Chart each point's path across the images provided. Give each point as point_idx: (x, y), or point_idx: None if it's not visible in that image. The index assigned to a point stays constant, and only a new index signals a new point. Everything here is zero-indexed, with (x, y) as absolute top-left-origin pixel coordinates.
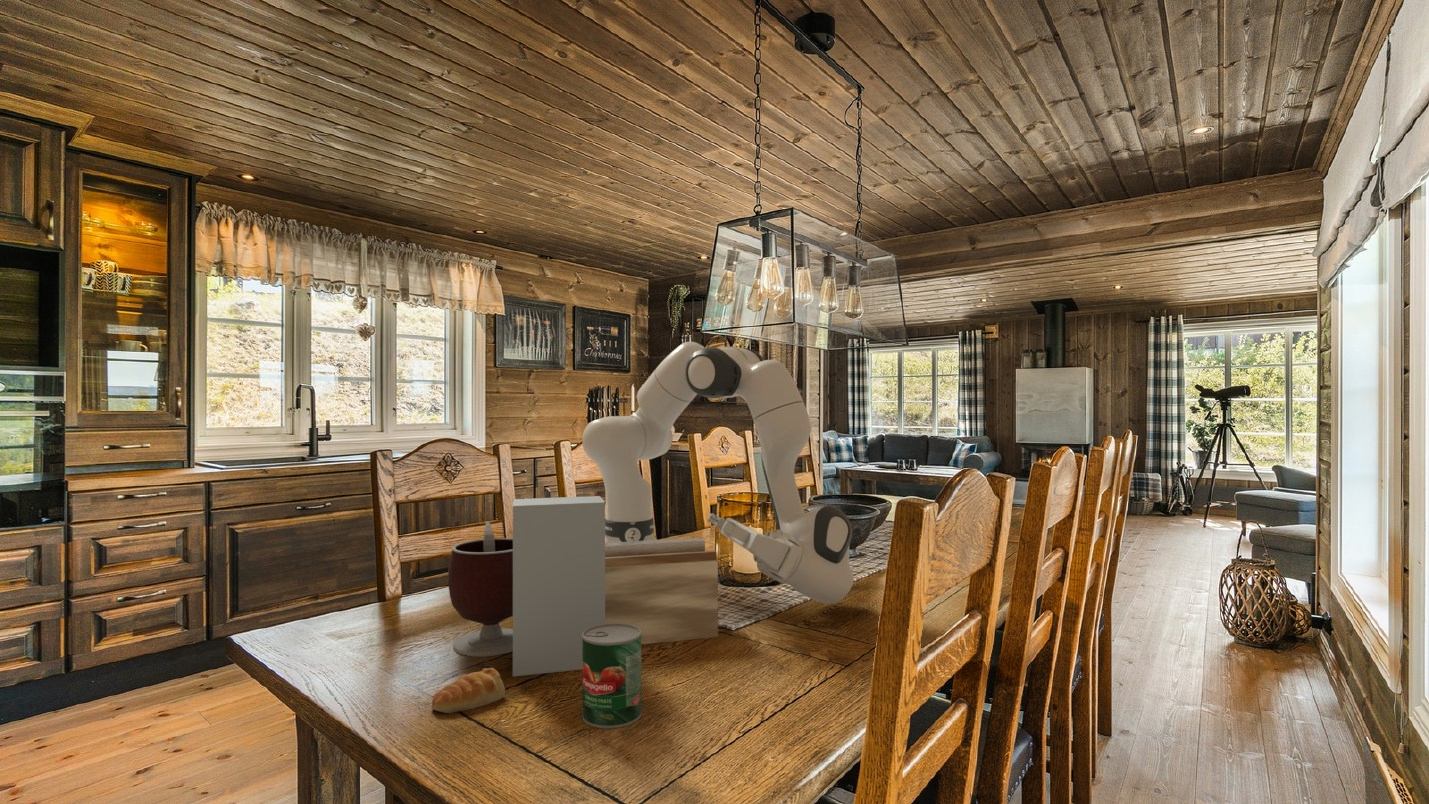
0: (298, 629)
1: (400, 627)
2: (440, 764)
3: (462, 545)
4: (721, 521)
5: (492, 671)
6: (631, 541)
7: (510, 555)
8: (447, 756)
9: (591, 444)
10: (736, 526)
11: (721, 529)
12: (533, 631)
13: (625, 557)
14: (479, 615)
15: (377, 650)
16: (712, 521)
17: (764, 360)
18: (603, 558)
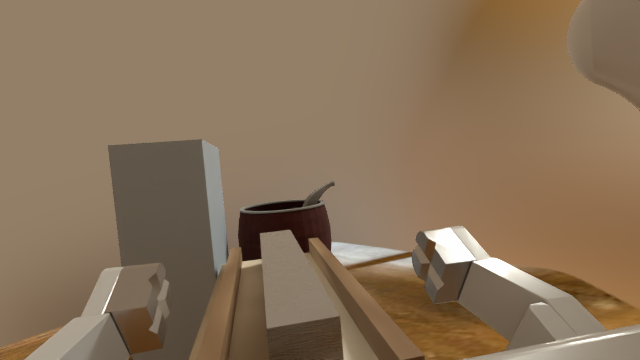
0: (344, 248)
1: (348, 270)
2: (9, 350)
3: (300, 202)
4: (501, 295)
5: None
6: (298, 245)
7: (245, 217)
8: (19, 350)
9: (567, 50)
10: (67, 325)
11: (170, 303)
12: None
13: (225, 267)
14: None
15: None
16: (421, 268)
17: None
18: (120, 243)
